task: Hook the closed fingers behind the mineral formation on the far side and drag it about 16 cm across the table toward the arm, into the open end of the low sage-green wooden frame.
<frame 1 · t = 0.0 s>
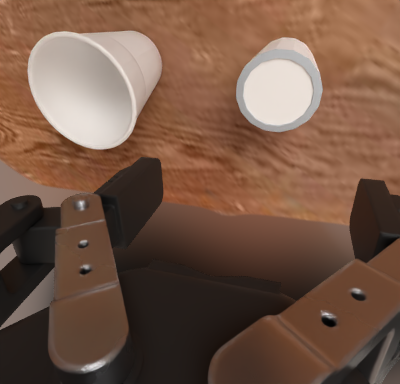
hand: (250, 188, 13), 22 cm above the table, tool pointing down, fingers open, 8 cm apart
cup: (137, 60, 35), on the table
shot glass: (283, 67, 31), on the table
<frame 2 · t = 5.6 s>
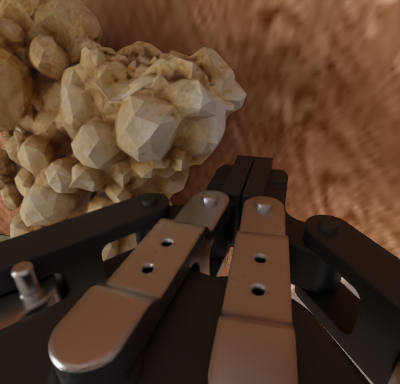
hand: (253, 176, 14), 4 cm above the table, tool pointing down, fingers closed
mineral formation: (115, 136, 19), on the table, touching gripper
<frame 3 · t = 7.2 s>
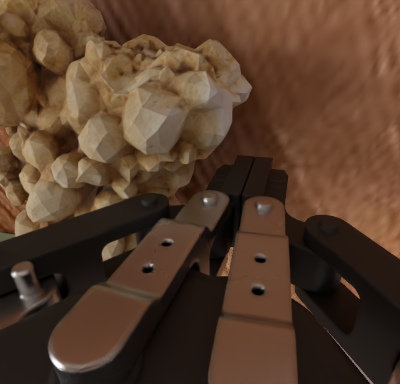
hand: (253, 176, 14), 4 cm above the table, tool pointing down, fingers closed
mineral formation: (118, 132, 19), on the table, touching gripper
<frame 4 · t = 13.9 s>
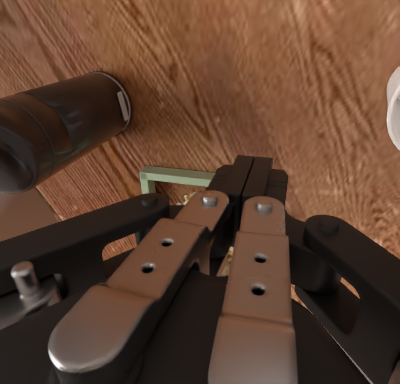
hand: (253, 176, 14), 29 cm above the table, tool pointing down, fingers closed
frame: (200, 228, 53), on the table
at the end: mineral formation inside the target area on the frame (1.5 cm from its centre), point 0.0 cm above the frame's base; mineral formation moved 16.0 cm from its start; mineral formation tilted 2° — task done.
